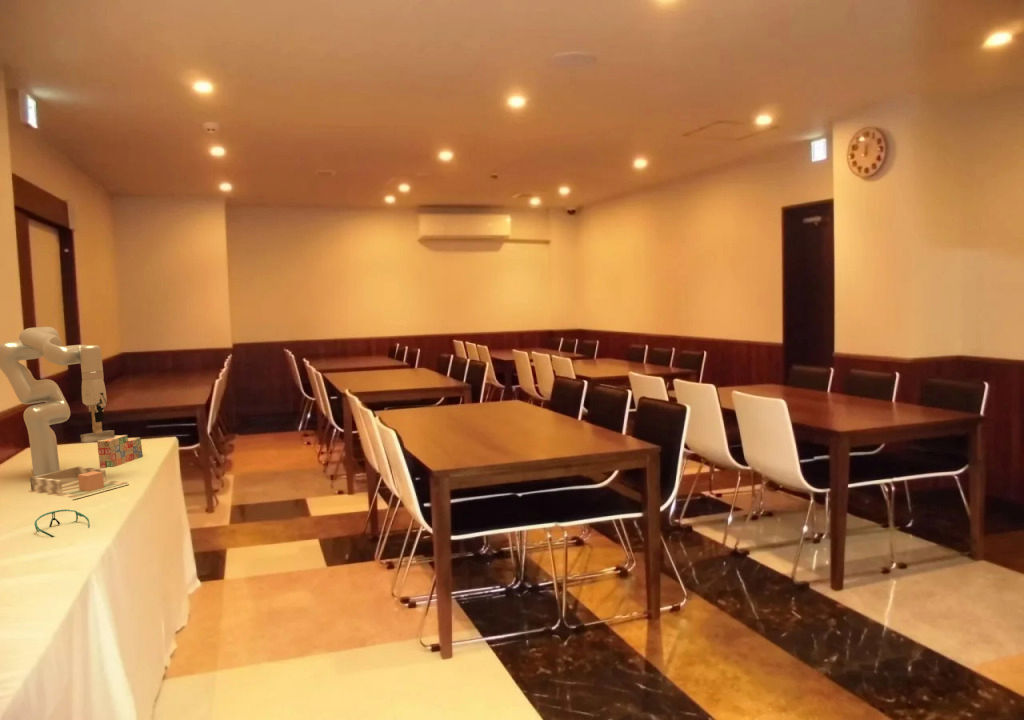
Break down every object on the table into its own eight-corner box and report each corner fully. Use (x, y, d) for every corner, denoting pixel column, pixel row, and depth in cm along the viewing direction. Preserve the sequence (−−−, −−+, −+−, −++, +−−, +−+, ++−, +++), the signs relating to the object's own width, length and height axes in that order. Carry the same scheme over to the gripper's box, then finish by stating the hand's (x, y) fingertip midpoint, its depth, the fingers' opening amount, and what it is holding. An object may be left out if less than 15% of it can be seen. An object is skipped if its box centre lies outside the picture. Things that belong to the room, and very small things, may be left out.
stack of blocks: (130, 457, 354) (128, 431, 353) (143, 456, 353) (140, 430, 352) (99, 468, 333) (96, 440, 332) (112, 467, 332) (109, 440, 331)
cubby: (27, 494, 291) (25, 478, 291) (83, 479, 310) (81, 465, 310) (74, 500, 277) (72, 484, 276) (129, 485, 296) (127, 470, 295)
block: (79, 490, 288) (77, 474, 287) (94, 486, 293) (92, 471, 292) (89, 491, 285) (87, 476, 284) (104, 487, 290) (102, 472, 290)
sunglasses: (76, 519, 251) (75, 505, 250) (96, 531, 242) (95, 516, 241) (29, 531, 240) (28, 516, 240) (47, 544, 231) (46, 529, 230)
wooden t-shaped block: (81, 442, 299) (78, 402, 298) (110, 437, 309) (107, 398, 308) (85, 443, 297) (82, 402, 296) (114, 437, 308) (111, 398, 306)
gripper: (72, 376, 302) (76, 422, 304) (95, 377, 294) (99, 424, 296) (90, 374, 308) (95, 418, 310) (113, 375, 300) (118, 421, 302)
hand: (97, 421), depth 303 cm, fingers closed on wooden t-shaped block, 2 cm apart
